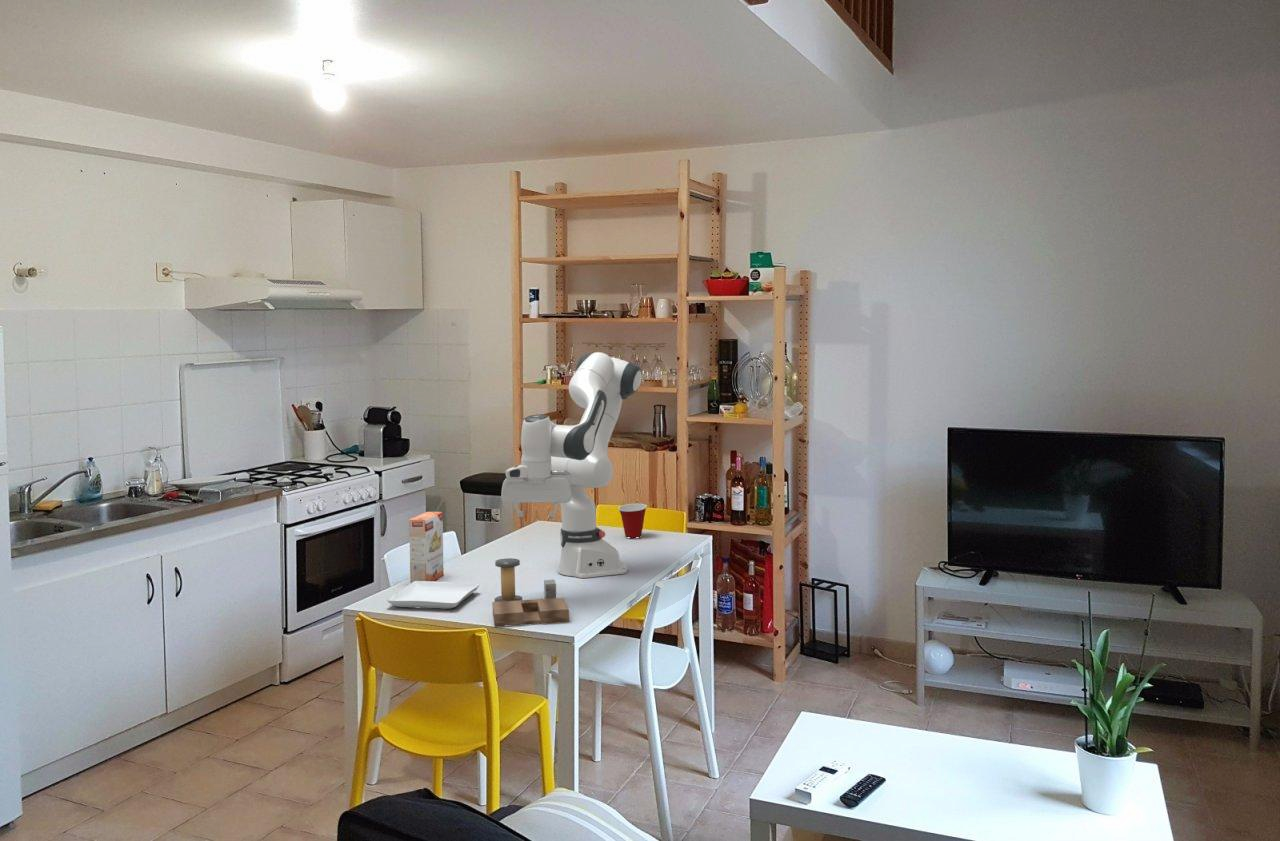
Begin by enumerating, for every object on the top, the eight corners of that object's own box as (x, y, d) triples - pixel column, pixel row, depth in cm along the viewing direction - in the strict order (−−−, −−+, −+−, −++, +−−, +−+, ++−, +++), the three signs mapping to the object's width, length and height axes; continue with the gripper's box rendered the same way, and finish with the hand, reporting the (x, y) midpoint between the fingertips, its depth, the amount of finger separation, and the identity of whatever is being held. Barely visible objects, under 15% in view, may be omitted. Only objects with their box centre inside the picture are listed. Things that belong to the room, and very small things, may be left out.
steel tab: (554, 599, 303) (554, 579, 302) (556, 604, 298) (556, 583, 297) (544, 600, 302) (543, 580, 302) (546, 604, 297) (545, 584, 297)
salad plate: (456, 613, 291) (456, 601, 290) (385, 610, 294) (385, 599, 294) (481, 593, 311) (481, 582, 311) (414, 591, 315) (414, 580, 315)
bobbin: (521, 599, 303) (520, 557, 302) (523, 606, 296) (522, 563, 294) (494, 600, 302) (492, 558, 301) (495, 608, 294) (494, 565, 293)
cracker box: (428, 586, 319) (425, 519, 317) (409, 585, 321) (407, 519, 318) (445, 575, 333) (443, 511, 331) (427, 574, 334) (425, 510, 332)
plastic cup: (612, 537, 387) (611, 506, 386) (633, 533, 394) (633, 502, 393) (631, 542, 379) (631, 509, 378) (653, 537, 386) (652, 505, 385)
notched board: (564, 609, 292) (563, 597, 291) (569, 621, 280) (568, 609, 280) (492, 614, 288) (492, 602, 288) (494, 626, 276) (494, 614, 276)
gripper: (572, 469, 304) (572, 516, 305) (502, 469, 304) (502, 515, 305) (571, 472, 298) (571, 519, 299) (500, 471, 297) (500, 519, 298)
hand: (536, 517), depth 302 cm, fingers open, 8 cm apart
